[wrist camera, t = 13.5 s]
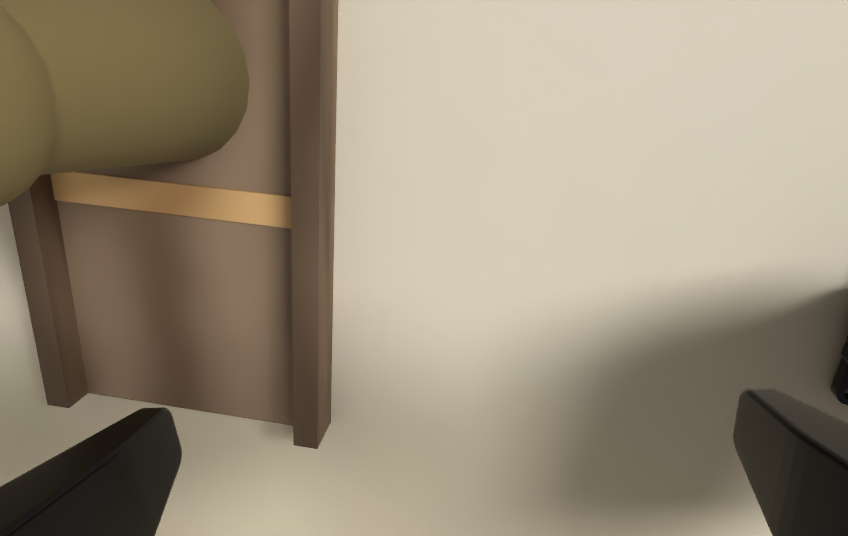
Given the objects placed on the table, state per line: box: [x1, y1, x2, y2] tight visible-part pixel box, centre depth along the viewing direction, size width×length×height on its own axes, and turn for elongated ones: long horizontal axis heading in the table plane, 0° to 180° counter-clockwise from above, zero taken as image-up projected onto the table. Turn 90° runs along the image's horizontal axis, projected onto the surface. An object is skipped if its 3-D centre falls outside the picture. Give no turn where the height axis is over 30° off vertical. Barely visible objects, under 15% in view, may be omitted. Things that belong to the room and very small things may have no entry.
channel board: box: [8, 0, 338, 449], centre depth 21 cm, size 12×21×2 cm, turn 176°
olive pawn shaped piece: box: [0, 0, 250, 206], centre depth 15 cm, size 6×6×11 cm
